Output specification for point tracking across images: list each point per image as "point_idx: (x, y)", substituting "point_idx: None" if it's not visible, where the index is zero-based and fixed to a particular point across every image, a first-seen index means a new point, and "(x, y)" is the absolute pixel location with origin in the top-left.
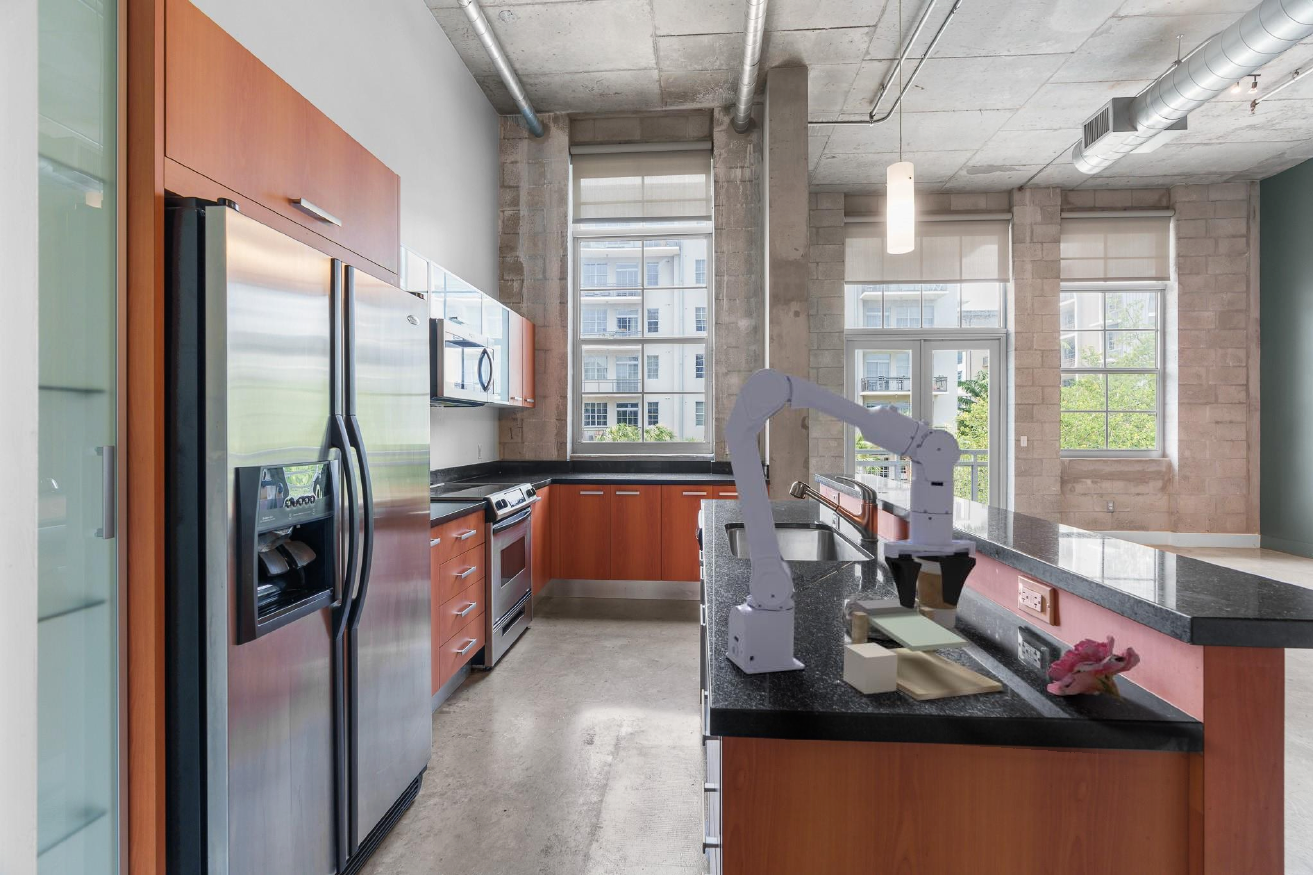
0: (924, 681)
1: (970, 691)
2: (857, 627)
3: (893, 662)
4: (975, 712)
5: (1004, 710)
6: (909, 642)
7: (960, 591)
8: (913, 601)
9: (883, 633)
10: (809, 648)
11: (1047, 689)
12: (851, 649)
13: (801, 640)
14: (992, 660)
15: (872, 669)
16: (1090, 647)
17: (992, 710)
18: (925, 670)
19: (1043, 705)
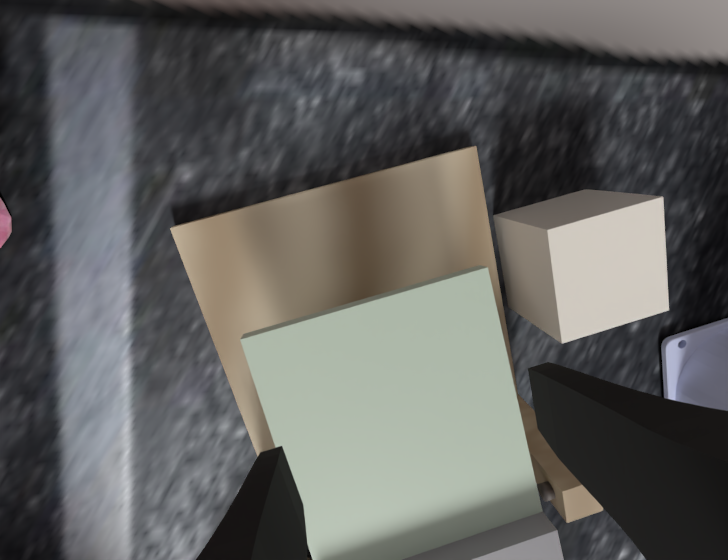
0: (408, 242)
1: (292, 194)
2: None
3: (546, 223)
4: (346, 63)
5: (247, 76)
6: (484, 299)
7: (239, 500)
8: (558, 374)
9: None
10: None
11: (7, 236)
12: (666, 273)
13: (575, 535)
14: (77, 463)
15: (609, 200)
16: None
17: (285, 77)
18: None
19: (93, 113)
